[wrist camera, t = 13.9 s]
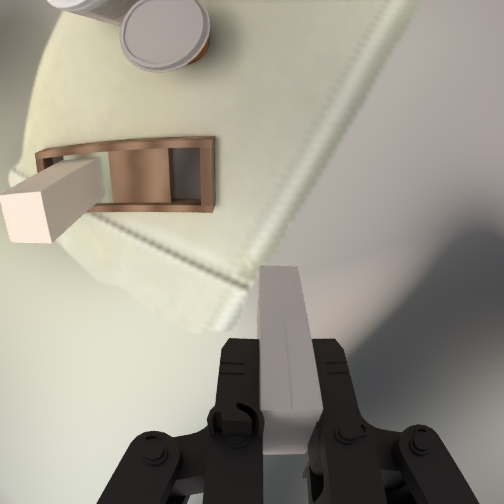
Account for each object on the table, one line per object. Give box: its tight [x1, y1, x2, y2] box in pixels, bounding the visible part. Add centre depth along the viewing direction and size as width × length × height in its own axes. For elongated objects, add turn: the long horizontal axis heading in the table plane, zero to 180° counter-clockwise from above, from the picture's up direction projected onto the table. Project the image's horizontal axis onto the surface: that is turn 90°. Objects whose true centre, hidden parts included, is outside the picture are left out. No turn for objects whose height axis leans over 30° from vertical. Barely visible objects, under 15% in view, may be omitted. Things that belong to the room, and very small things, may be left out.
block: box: [0, 157, 105, 243], centre depth 35 cm, size 7×6×15 cm
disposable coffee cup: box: [120, 0, 210, 72], centre depth 29 cm, size 10×10×12 cm
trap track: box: [35, 136, 215, 213], centre depth 42 cm, size 28×10×3 cm, turn 88°
